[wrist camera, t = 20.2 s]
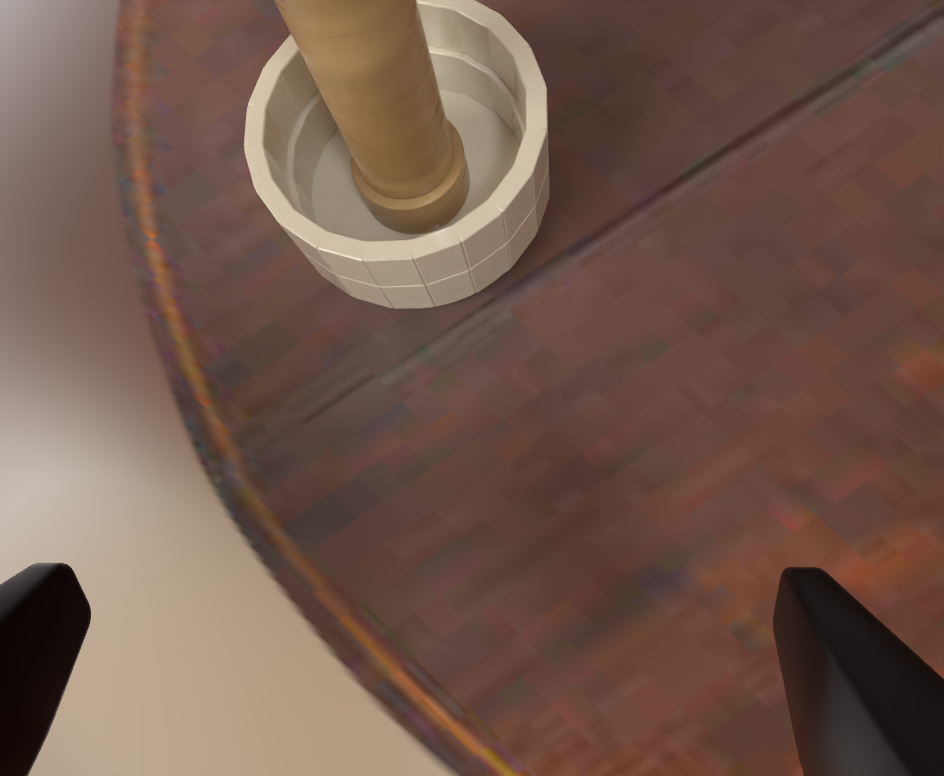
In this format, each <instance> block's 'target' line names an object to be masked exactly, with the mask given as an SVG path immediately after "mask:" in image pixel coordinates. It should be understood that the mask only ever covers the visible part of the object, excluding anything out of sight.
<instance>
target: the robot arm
mask: <svg viewBox="0 0 944 776" xmlns="http://www.w3.org/2000/svg"><path fill="white" fill-rule="evenodd" d="M90 619H91V609H90V605H89V603H88V601H87V599H86V596H85V594H84V592H83V590H82V588H81V586H80V584H79V582H78V580H77V578H76V575H75V573H74V571H73V570H72V568H71V567H70V566H68V565H67V564H64V563H37V564H33V565H31V566H29V567H28V568H26V569H24V570H23V571H21V572H20V573H18V574H16V575H15V576H13V577H12V578H10V579H9V580H7V581H5V582H4V583H2V584H1V585H0V776H28V774H29V772H30V770H31V768H32V766H33V764H34V762H35V760H36V758H37V756H38V754H39V752H40V750H41V748H42V745H43V743H44V741H45V739H46V737H47V734H48V732H49V729H50V727H51V724H52V722H53V720H54V717H55V715H56V712H57V710H58V707H59V704H60V702H61V699H62V696H63V694H64V691H65V688H66V686H67V683H68V680H69V678H70V675H71V673H72V670H73V667H74V665H75V662H76V659H77V657H78V654H79V651H80V649H81V646H82V643H83V641H84V638H85V636H86V633H87V630H88V628H89V624H90ZM773 628H774V636H775V641H776V646H777V651H778V656H779V661H780V666H781V671H782V676H783V681H784V686H785V691H786V696H787V701H788V706H789V711H790V716H791V721H792V726H793V731H794V736H795V741H796V745H797V750H798V755H799V759H800V763H801V766H802V770H803V773H804V776H944V679H943V678H942V677H941V676H940V675H939V674H938V673H936V672H935V671H934V670H933V669H932V668H931V667H930V666H929V665H928V664H927V663H925V662H924V661H923V660H922V659H921V658H920V657H919V656H918V655H917V654H916V653H914V652H913V651H912V650H911V649H910V648H909V647H908V646H907V645H906V644H905V643H903V642H902V641H901V640H900V639H899V638H898V637H897V636H896V635H895V634H894V633H892V632H891V631H890V630H889V629H888V628H887V627H886V626H885V625H884V624H883V623H881V622H880V621H879V620H878V619H877V618H876V617H875V616H874V615H873V614H872V613H870V612H869V611H868V610H867V609H866V608H865V607H864V606H863V605H862V604H861V603H859V602H858V601H857V600H856V599H855V598H854V597H853V596H852V595H851V594H850V593H848V592H847V591H846V590H845V589H844V588H843V587H842V586H841V585H840V584H839V583H837V582H836V581H835V580H834V579H833V578H832V577H831V576H830V575H829V574H828V573H826V572H825V571H824V570H822V569H820V568H816V567H789V568H786V569H784V571H783V572H782V574H781V578H780V583H779V589H778V594H777V599H776V605H775V610H774V616H773Z"/></svg>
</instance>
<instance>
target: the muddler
mask: <svg viewBox="0 0 944 776" xmlns="http://www.w3.org/2000/svg"><path fill="white" fill-rule="evenodd" d="M274 1H275V3H276V5H277V7H278V9H279V11H280V13H281V15H282V17H283V19H284V21H285V23H286V25H287V27H288V29H289V31H290V33H291V35H292V37H293V39H294V41H295V43H296V45H297V47H298V49H299V51H300V53H301V55H302V57H303V59H304V61H305V63H306V65H307V67H308V69H309V71H310V72H311V74H312V76H313V78H314V80H315V82H316V84H317V86H318V88H319V90H320V92H321V94H322V96H323V98H324V100H325V102H326V104H327V106H328V108H329V110H330V112H331V114H332V116H333V118H334V120H335V122H336V124H337V126H338V128H339V130H340V132H341V134H342V136H343V138H344V140H345V142H346V144H347V146H348V148H349V150H350V152H351V154H352V155H351V172H352V176H353V179H354V181H355V184H356V186H357V187H358V189H359V191H360V193H361V195H362V197H363V199H364V201H365V203H366V205H367V206H368V208H369V210H370V212H371V213H372V215H373V216H374V217H375V218H376V219H377V220H378V221H379V222H380V223H381V224H382V225H384V226H385V227H387V228H389V229H391V230H393V231H396V232H400V233H405V234H421V233H427V232H430V231H433V230H436V229H438V228H440V227H442V226H444V225H445V224H447V223H448V222H449V221H451V220H452V219H453V218H454V217H455V216H456V215H457V214H458V212H459V211H460V210H461V208H462V207H463V205H464V204H465V201H466V199H467V196H468V193H469V188H470V174H469V169H468V165H467V160H466V156H465V152H464V147H463V143H462V140H461V137H460V135H459V133H458V131H457V130H456V128H455V126H454V125H453V124H452V123H451V122H450V121H449V120H448V119H447V118H446V115H445V111H444V107H443V103H442V99H441V95H440V91H439V87H438V83H437V80H436V76H435V72H434V68H433V64H432V60H431V56H430V52H429V48H428V44H427V40H426V36H425V32H424V28H423V24H422V20H421V16H420V12H419V8H418V4H417V0H274Z"/></svg>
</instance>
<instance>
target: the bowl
mask: <svg viewBox="0 0 944 776" xmlns="http://www.w3.org/2000/svg"><path fill="white" fill-rule="evenodd" d="M417 4H418V8H419V12H420V16H421V20H422V24H423V28H424V32H425V36H426V40H427V44H428V48H429V52H430V56H431V60H432V64H433V68H434V72H435V76H436V80H437V83H438V87H439V91H440V95H441V99H442V103H443V107H444V111H445V115H446V118H447V119H448V120H449V121H450V122H451V123H452V124H453V125H454V126H455V128H456V130H457V131H458V133H459V135H460V137H461V140H462V143H463V147H464V152H465V156H466V160H467V165H468V169H469V174H470V188H469V193H468V196H467V199H466V201H465V204H464V205H463V207H462V208H461V210H460V211H459V212H458V214H457V215H456V216H455V217H454V218H453V219H452V220H451V221H449V222H448V223H447V224H445V225H444V226H442V227H440V228H438V229H436V230H433V231H430V232H427V233H421V234H405V233H400V232H396V231H393V230H391V229H389V228H387V227H385V226H384V225H382V224H381V223H380V222H379V221H378V220H377V219H376V218H375V217H374V216H373V215H372V213H371V212H370V210H369V208H368V206H367V205H366V203H365V201H364V199H363V197H362V195H361V193H360V191H359V189H358V187H357V186H356V184H355V181H354V179H353V176H352V172H351V155H352V154H351V152H350V150H349V148H348V146H347V144H346V142H345V140H344V138H343V136H342V134H341V132H340V130H339V128H338V126H337V124H336V122H335V120H334V118H333V116H332V114H331V112H330V110H329V108H328V106H327V104H326V102H325V100H324V98H323V96H322V94H321V92H320V90H319V88H318V86H317V84H316V82H315V80H314V78H313V76H312V74H311V72H310V71H309V69H308V67H307V65H306V63H305V61H304V59H303V57H302V55H301V53H300V51H299V49H298V47H297V45H296V43H295V41H294V39H293V37H292V35H291V34H290V36H289V37H288V38H287V39H286V40H285V42H284V43H283V44H282V45H281V46H280V48H279V49H278V50H277V51H276V52H275V54H274V55H273V56H272V57H271V58H270V60H269V61H268V62H267V63H266V66H264V68H263V70H262V72H261V75H260V77H259V79H258V82H257V84H256V86H255V89H254V91H253V93H252V96H251V98H250V100H249V103H248V107H247V117H246V128H245V140H244V148H245V149H244V151H245V155H246V159H247V162H248V166H249V170H250V174H251V177H252V181H253V185H254V188H255V190H256V192H257V193H258V195H259V196H260V198H261V199H262V200H263V202H264V203H265V205H266V206H267V207H268V209H269V210H270V211H271V213H272V214H273V216H274V217H275V218H276V220H277V221H278V223H279V224H280V225H281V226H282V228H283V229H284V230H285V231H286V233H287V234H288V235H289V236H290V238H291V239H292V240H293V241H294V242H295V244H296V245H297V246H298V247H299V249H300V250H301V251H302V252H303V254H304V255H305V256H306V257H307V259H308V260H309V261H310V262H311V264H312V265H313V266H314V267H315V268H316V270H317V271H318V272H319V273H320V274H321V275H322V276H323V277H324V278H326V279H327V280H329V281H330V282H331V283H333V284H334V285H336V286H337V287H339V288H340V289H342V290H343V291H345V292H346V293H347V294H349V295H350V296H354V298H357V299H360V300H364V301H368V302H371V303H375V304H378V305H382V306H385V307H389V308H395V309H397V308H428V307H436V306H441V305H445V304H449V303H453V302H456V301H458V300H461V299H464V298H466V297H469V296H471V295H473V294H475V293H476V292H477V293H478V292H479V291H481V290H482V289H484V288H485V287H487V286H488V285H490V284H491V283H493V282H494V281H495V280H497V279H498V278H499V277H500V276H501V275H503V274H504V273H506V272H507V271H508V270H510V269H511V267H512V266H514V264H515V263H516V262H517V260H518V259H519V258H520V256H521V255H522V254H523V252H524V251H525V249H526V248H527V247H528V245H529V244H530V243H531V241H532V240H533V239H534V237H535V236H536V233H537V232H538V230H539V227H540V224H541V221H542V218H543V215H544V212H545V209H546V206H547V203H548V200H549V194H550V182H549V142H548V107H547V87H546V83H545V81H544V78H543V76H542V73H541V71H540V68H539V66H538V63H537V61H536V58H535V56H534V53H533V51H532V49H531V48H530V45H529V44H528V43H527V42H526V41H525V40H524V39H523V38H522V36H521V35H520V34H519V33H518V32H517V31H516V30H515V29H514V28H513V27H512V26H511V24H510V23H509V22H508V21H507V20H506V19H505V18H504V17H503V16H501V15H500V14H499V13H497V12H495V11H493V10H492V9H490V8H488V7H486V6H484V5H482V4H481V3H479V2H477V1H475V0H417Z"/></svg>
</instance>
